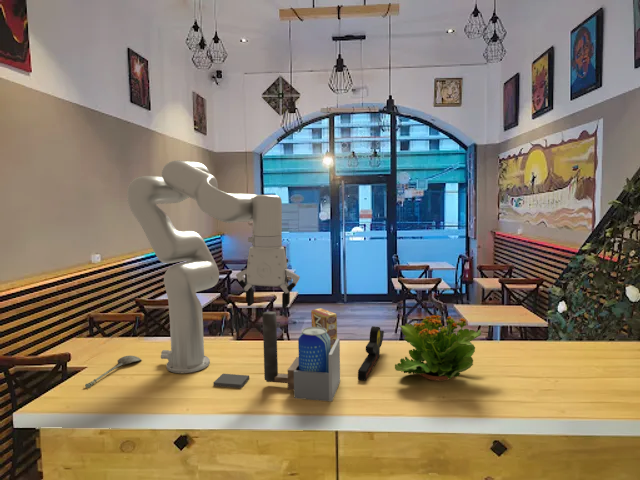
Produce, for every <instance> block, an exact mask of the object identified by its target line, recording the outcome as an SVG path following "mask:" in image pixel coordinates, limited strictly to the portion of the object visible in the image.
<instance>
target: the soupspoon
mask: <svg viewBox="0 0 640 480" xmlns="http://www.w3.org/2000/svg"><path fill="white" fill-rule="evenodd" d="M139 361H142V358H140V357H139V356H135V355H124V356H122V357H120V358H118V359H117V365H115V366H112V367H111V368H110V369H109V370H107V371H106V372H104V373H103V374H101V375H99V376H98V377H97V378H94V379H93V380H92V381H90V382H88V383H85V388H87V389H91V388H92V386H93V385H94V384H95V383H97V381H99V380H100V379H101V378H103V377H105V376H106V375H108V374H110V373H111V372H112V371H114V370H115V369H117V368H119V367H121V366H124V365H129V364H131V363H134V362H139Z"/></svg>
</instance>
